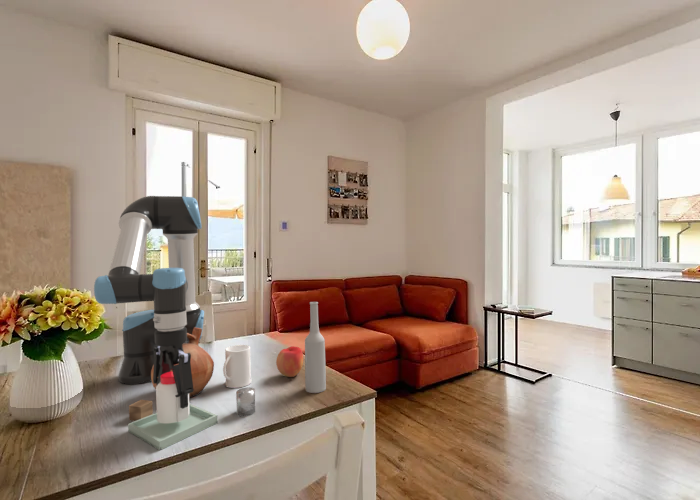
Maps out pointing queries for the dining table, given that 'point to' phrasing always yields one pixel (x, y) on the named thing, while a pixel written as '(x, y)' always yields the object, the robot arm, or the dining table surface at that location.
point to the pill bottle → (167, 399)
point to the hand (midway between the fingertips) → (173, 415)
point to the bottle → (315, 355)
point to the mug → (237, 366)
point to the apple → (290, 361)
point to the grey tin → (245, 401)
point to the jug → (196, 363)
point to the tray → (171, 427)
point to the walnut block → (140, 409)
